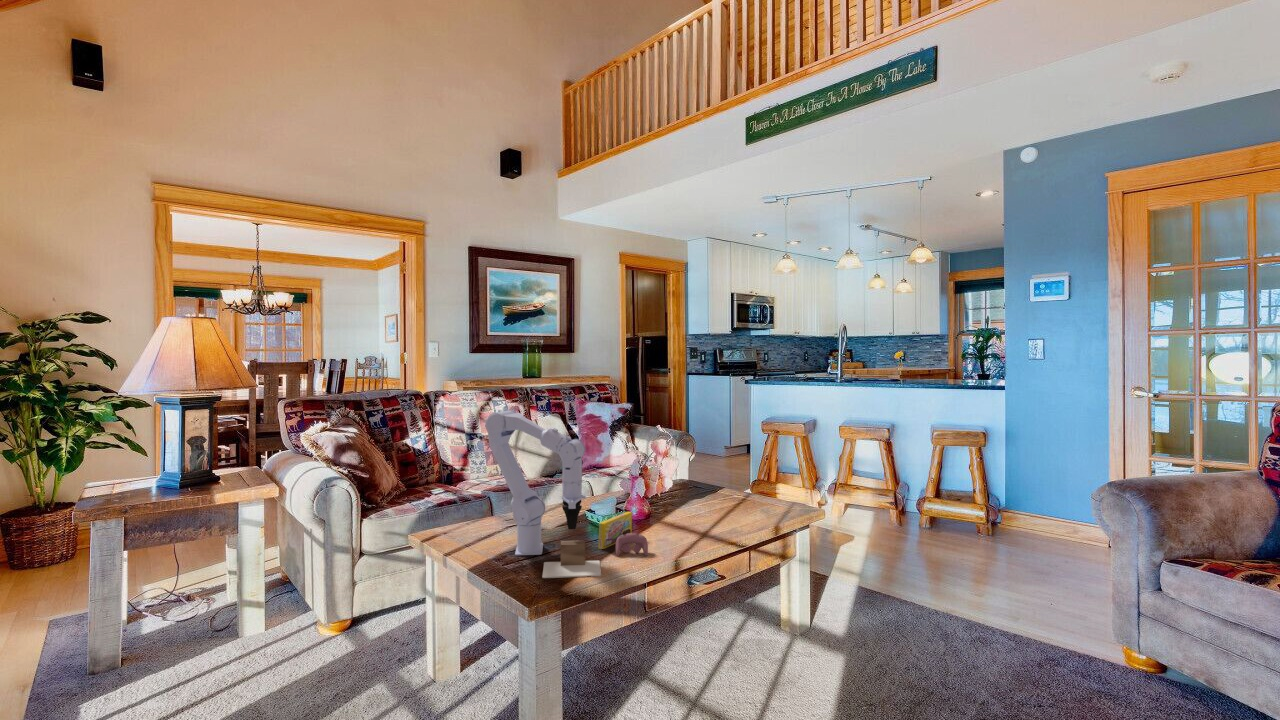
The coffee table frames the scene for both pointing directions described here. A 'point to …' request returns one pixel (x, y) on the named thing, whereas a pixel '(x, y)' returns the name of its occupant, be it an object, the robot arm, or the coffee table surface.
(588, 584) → the coffee table surface
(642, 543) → the video game controller
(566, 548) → the brown block
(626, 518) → the candy box
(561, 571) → the mat
